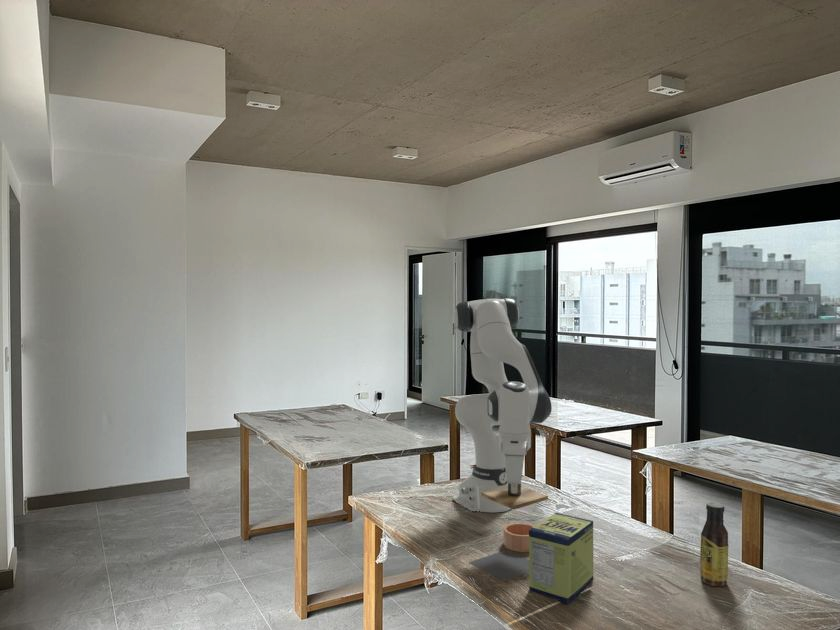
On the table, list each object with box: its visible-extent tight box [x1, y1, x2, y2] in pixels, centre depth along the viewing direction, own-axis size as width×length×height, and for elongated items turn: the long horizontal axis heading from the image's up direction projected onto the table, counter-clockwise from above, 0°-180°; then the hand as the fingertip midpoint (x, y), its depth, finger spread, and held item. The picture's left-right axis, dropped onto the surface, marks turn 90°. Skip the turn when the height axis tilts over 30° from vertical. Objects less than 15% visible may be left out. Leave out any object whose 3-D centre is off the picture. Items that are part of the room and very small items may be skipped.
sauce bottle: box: [699, 501, 729, 587], centre depth 153 cm, size 7×6×20 cm
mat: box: [468, 549, 529, 582], centre depth 163 cm, size 14×14×1 cm
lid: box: [482, 482, 549, 510], centre depth 171 cm, size 13×13×5 cm
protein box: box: [528, 512, 594, 605], centre depth 151 cm, size 10×16×16 cm
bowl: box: [502, 522, 535, 553], centre depth 176 cm, size 10×10×5 cm
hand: (514, 489), depth 171 cm, fingers closed on lid, 4 cm apart
